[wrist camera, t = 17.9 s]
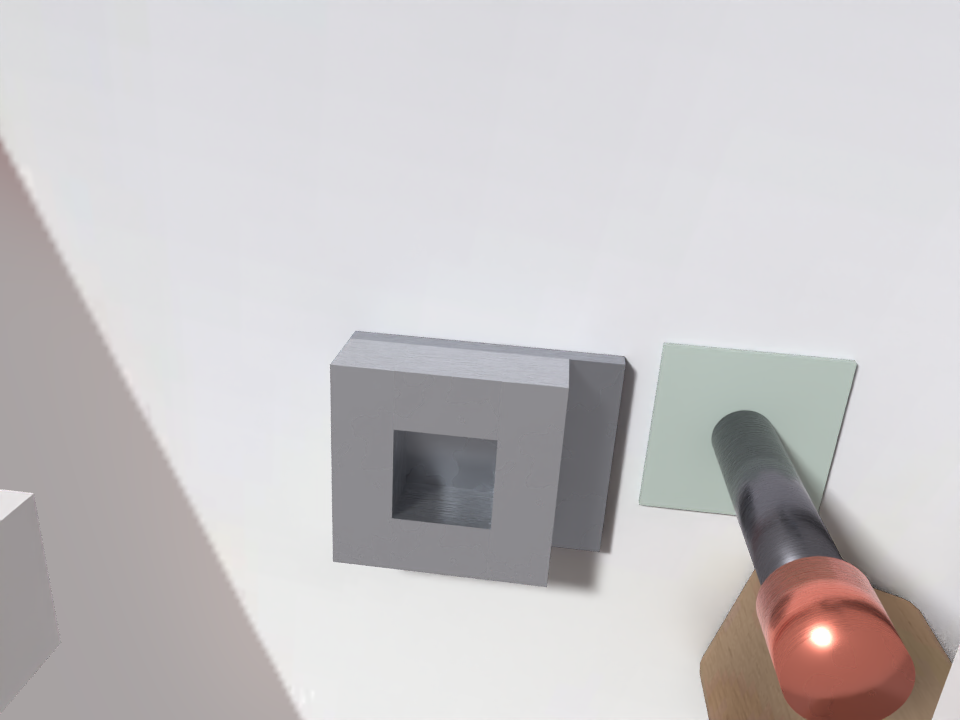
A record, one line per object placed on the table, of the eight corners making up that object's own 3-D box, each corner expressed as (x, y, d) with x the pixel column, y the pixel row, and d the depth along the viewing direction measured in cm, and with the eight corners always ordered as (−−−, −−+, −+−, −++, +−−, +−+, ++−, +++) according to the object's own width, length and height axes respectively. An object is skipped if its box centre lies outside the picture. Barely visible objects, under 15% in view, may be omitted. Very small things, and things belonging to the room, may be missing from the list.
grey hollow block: (355, 330, 44) (330, 364, 40) (624, 356, 43) (630, 393, 39) (355, 512, 49) (333, 561, 44) (598, 539, 48) (601, 593, 43)
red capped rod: (696, 468, 45) (769, 719, 28) (709, 398, 43) (795, 620, 26) (775, 476, 44) (896, 735, 28) (791, 406, 43) (931, 636, 26)
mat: (663, 342, 43) (664, 345, 42) (854, 360, 42) (857, 363, 41) (638, 501, 46) (639, 504, 46) (813, 520, 46) (815, 523, 45)
